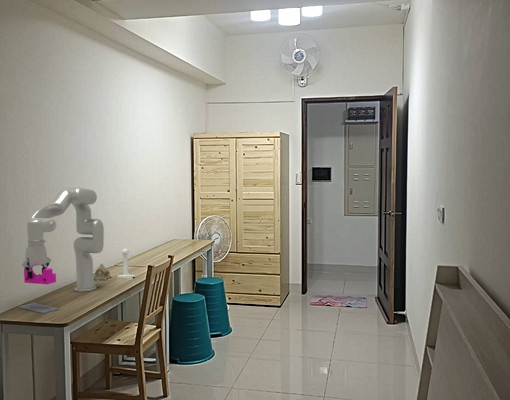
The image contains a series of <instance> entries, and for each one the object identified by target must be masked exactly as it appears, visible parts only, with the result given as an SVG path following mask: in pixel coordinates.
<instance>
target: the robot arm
mask: <svg viewBox="0 0 510 400" xmlns="http://www.w3.org/2000/svg"><path fill="white" fill-rule="evenodd" d="M97 198H98V195H97V193H96V192H95V190H93V189H88V188H83V187H64V188H62V189H61V190H60V192H58V194H57V195H56V196H55V197H54V199H53V200H52V201H51V203H48V204H47V205H45V206H43V207H42V208H39V209H38V210H37V211H35V213H34V214H33V215H32V216H31V218H30V219H29V220H28V221H27V222H26V223H27V224H26V228H27V247H26V248H25V260H24V261H23V262H22V263H21V266H22V267H23V270H24V269H25V270H26V271H27V274H28V279H33V273H32V271H31V270H32V269H33V267H36V266H41V267H42V268H41V273H42V272H43V270H44V269H47V268H49V266H50V263H51V262H52V259H51V258H50V257H48V256H47V248H46V245H44V244H45V243H46V240H45V239H44V233H51V232H53V231H55V229H56V228H57V222H56V220H55V219H54V217H57V216H60V215H62V214H65V212H66V210H67V209H68V208H69V206H70V205H71V204H72V206H73V207H74V209H75V212H76V214H75V215H76V216H75V219H76V220H75V223H76V224H75V225H76V227H75V228H76V232H77V234H79V235H85V236H80V237H76V239H74V242H73V249H74V255H75V268H76V269H75V271H76V273H75V274H76V287H74V292H82V293H83V292H90V291H95V290H96V289H97V286H96V285H99V284H101V281H94V280H93V277H94V263H93V262H94V260H93V257H92V254H100V253H102V251H103V249H104V240H105V239H104V238H105V237H104V236H105V235H104V233H105V232H104V231H105V229H104V223H103V222H102V220H101V219H98V218H92V209H91V207H90V205H94V204H95V203H96V201H97ZM86 235H87V236H86ZM90 235H91V236H90Z"/></svg>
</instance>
